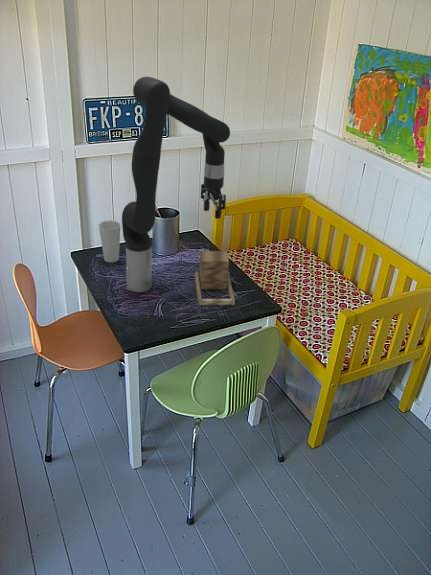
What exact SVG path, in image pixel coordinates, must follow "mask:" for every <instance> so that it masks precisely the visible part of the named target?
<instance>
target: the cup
mask: <svg viewBox="0 0 431 575" xmlns="http://www.w3.org/2000/svg"><path fill="white" fill-rule="evenodd" d="M98 229H99V236H100V241H101V248H102V255H103V260H104V261H105V262H107V263H110V264H111V263H116V262H118V261H119V259H120V241H121V223H120V222H119V221H116V220H104V221H101V222H100V223H99V224H98Z"/></svg>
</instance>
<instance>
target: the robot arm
mask: <svg viewBox="0 0 431 575" xmlns="http://www.w3.org/2000/svg"><path fill="white" fill-rule="evenodd" d="M132 92H133V96H134V99H135V100H136V102H137V103H138V104H139V105H141V106H143V107H145V116H144V124H143V128H142V130H141V132H140V134H139V136H137V139H136V141H135V143H134V145H133V148H132V155H131V156H132V157H131V173H132V174H131V175H132V179H133V183H134V187H135V193H136V194H135V198H136V199H135V200H136V201H131V202H128V203H127V204H126V205H125V206H124V208H123V210H122V213H121V225H122V228H121V229H122V237H123V240H124V242H125V261H126V262H125V263H126V265H125V274H126V275H125V277H126V279H125V280H126V290H127V291H131V292H134V293H144V292H147V291H149V290H150V289H151V288H152V284H153V281H152V279H153V278H152V272H153V271H152V268H153V267H152V238H151V237H150V235H149V233H150V232H151V230H152V229H153V227H154V225H155V223H156V222H155V221H156V201H157V200H156V197H157V186H158V177H159V169H160V162H161V156H162V154H161V153H162V144H163V140H164V139H163V138H164V130H165V124H166V120H167V116H168V115H169V116H170V117H171V118H172V119H175V120H177V121H178V122H180V123H181V124H183V125H185V126H186V127H187V128H188V127H189V128H190V129H192V130H194V131H196V132H198V133H202V139H203V145H204V150H205V157H204V158H205V160H204V161H205V162H204V170H203V183H202V184H200V199H201V200H202V201H203V211H204V212H208V211H209V210H210V204H211V202H212V204H213V205H214V207H215V210H214V218H215V220H218V219H221V216H222V211H223V210H225V209H226V201H227V195H226V194H222V189H223V187H224V181H225V180H224V179H225V156H226V155H225V154H226V153H225V149H224V147H222V146H221V144H220V143H225V142H227V141H228V140H229V138H230V136H231V129H230V127H229V125H228V124H226V123H225V122H224V121H222V120H220V119H217V118H215V117H213V116H211V115H210V114H208V113H207V112H205V111H204V110H202V109H201V108H199V107H197V106H195V105H193V104H191V103H189V102H187V101H185V100H183V99H181V98H178V97H176V96H174V95H173V94H171V91H170V88H169V85H168V84H167V83H166V82H165V81H162V80H160V79H157V78H155V77H152V76H142V77H140V78H138V79H137V80H136V81H135V83H134V84H133V88H132ZM210 201H211V202H210Z"/></svg>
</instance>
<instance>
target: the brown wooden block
mask: <svg viewBox="0 0 431 575" xmlns="http://www.w3.org/2000/svg"><path fill="white" fill-rule="evenodd" d="M229 271H230V260H229V255H228V250H200V255H199V271H198V275H199V283H200V290H228V287H227V284H228V272H229Z"/></svg>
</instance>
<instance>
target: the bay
mask: <svg viewBox="0 0 431 575" xmlns="http://www.w3.org/2000/svg"><path fill="white" fill-rule="evenodd" d="M194 279H195V281H194V282H195V288H196V296H197V297H196V298H197V306H235V304H236V300H235V294H234V291H233V287H232V281H231V278H230V272H229V271H228V284H227V292H228V296H229V298H202V293H201V292H202V291H201V288H200V280H199V271H194Z"/></svg>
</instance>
